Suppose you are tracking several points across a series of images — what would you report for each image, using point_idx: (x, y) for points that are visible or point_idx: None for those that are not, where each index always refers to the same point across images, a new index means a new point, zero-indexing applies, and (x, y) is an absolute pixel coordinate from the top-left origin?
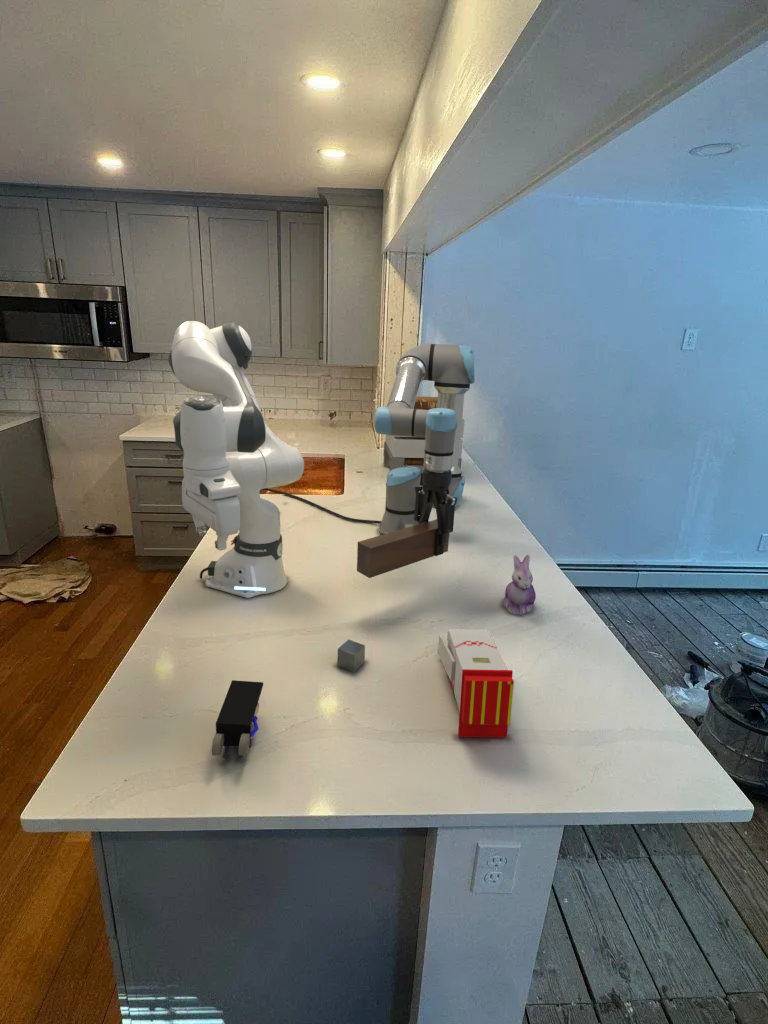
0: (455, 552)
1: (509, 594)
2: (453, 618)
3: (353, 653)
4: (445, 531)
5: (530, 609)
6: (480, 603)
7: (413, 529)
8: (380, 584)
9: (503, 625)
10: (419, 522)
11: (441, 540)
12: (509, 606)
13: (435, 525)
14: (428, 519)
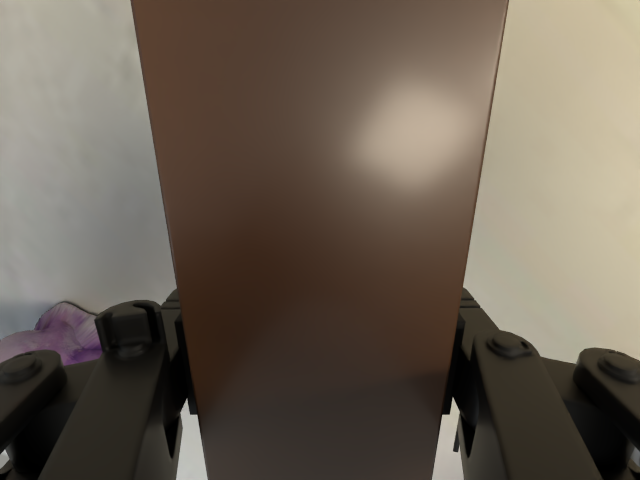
0: (460, 451)
1: (36, 340)
2: (119, 125)
3: None
4: (3, 371)
5: None
6: (160, 276)
7: (360, 24)
8: None
9: (11, 229)
10: (521, 351)
11: (173, 305)
12: (66, 316)
13: (283, 418)
14: (464, 469)
